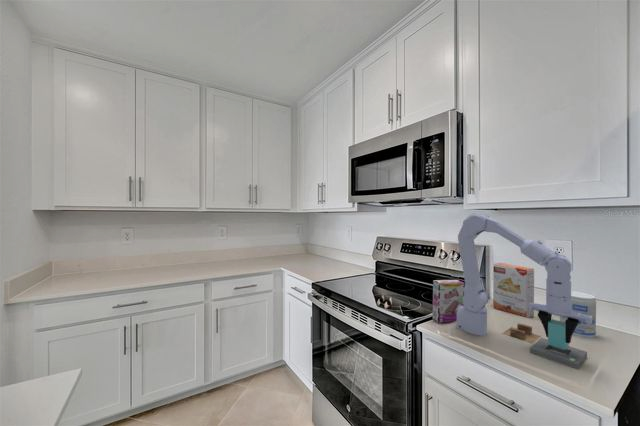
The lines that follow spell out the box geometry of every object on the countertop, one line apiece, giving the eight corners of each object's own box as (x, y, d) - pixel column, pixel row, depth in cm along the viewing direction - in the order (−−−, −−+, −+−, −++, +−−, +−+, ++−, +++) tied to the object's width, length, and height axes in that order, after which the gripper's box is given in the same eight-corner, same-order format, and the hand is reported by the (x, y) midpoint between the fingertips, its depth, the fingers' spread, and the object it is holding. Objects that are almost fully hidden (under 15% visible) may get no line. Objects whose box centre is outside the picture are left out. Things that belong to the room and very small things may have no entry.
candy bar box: (438, 324, 107) (438, 283, 107) (432, 319, 112) (432, 279, 112) (464, 322, 108) (464, 282, 108) (456, 317, 113) (457, 279, 113)
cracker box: (492, 308, 124) (492, 263, 124) (500, 306, 127) (500, 262, 126) (526, 319, 111) (526, 269, 111) (534, 317, 114) (534, 268, 114)
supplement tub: (576, 340, 93) (576, 298, 93) (552, 328, 103) (553, 290, 103) (604, 340, 93) (604, 298, 93) (578, 328, 103) (578, 290, 103)
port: (529, 355, 83) (529, 346, 83) (541, 345, 90) (541, 336, 90) (578, 372, 75) (578, 362, 75) (587, 359, 81) (587, 350, 81)
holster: (501, 336, 96) (501, 326, 96) (511, 329, 102) (511, 320, 102) (532, 346, 89) (532, 336, 89) (541, 338, 94) (541, 329, 94)
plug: (548, 344, 83) (548, 322, 83) (551, 341, 85) (551, 319, 85) (565, 350, 79) (565, 326, 79) (568, 346, 82) (568, 323, 82)
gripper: (594, 298, 79) (594, 344, 79) (533, 287, 90) (533, 327, 90) (589, 303, 74) (589, 352, 74) (526, 291, 86) (526, 333, 86)
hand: (558, 339), depth 82 cm, fingers closed on plug, 4 cm apart
